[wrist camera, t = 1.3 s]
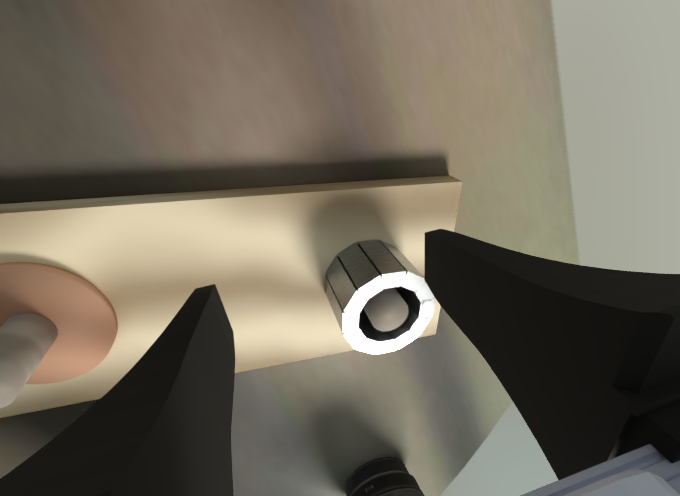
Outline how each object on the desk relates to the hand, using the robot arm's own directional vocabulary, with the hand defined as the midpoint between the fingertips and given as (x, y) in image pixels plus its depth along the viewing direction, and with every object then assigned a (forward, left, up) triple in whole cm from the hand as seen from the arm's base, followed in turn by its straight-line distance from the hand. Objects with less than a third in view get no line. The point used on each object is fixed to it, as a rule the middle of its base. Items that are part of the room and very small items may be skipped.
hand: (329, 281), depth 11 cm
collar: (-5, -4, -8) cm, 11 cm away
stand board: (-5, +5, -10) cm, 12 cm away
